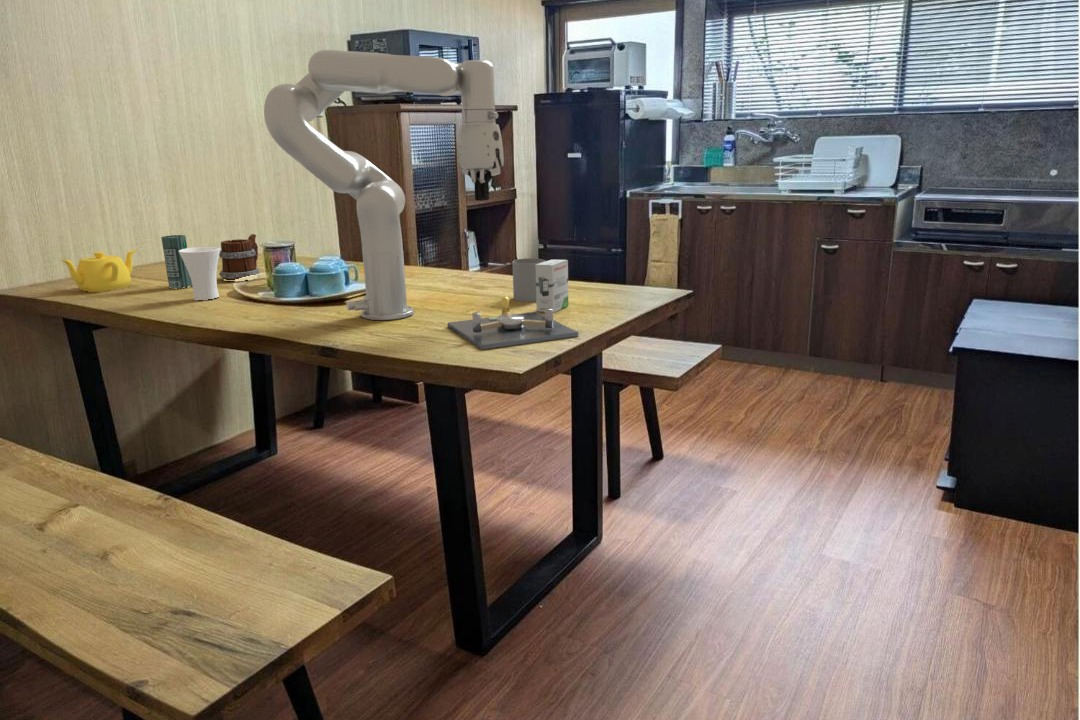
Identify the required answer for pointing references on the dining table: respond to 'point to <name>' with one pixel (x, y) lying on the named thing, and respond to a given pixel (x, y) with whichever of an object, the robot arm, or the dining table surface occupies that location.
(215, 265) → the cup
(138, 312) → the dining table surface
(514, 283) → the cup
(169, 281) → the teal patterned carton
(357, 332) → the dining table surface
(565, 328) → the stand plate
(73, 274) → the teapot
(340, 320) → the dining table surface
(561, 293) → the ink box
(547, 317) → the capstan
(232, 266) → the mug
